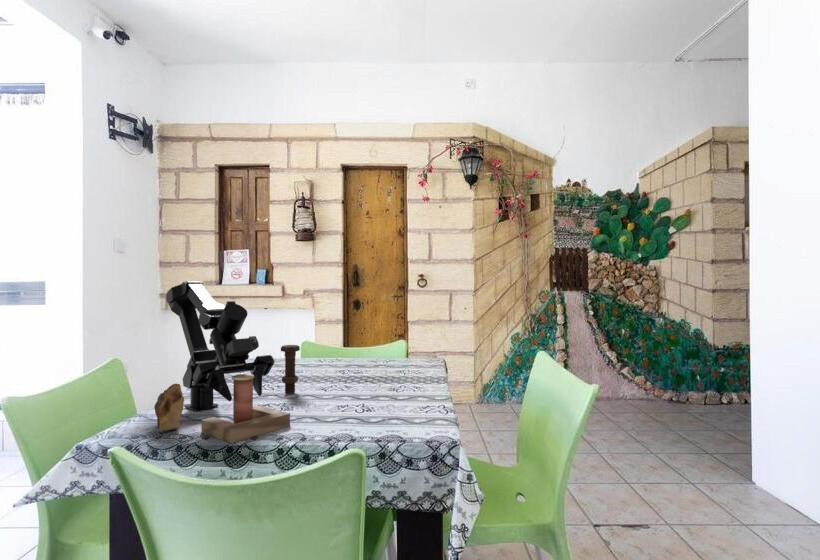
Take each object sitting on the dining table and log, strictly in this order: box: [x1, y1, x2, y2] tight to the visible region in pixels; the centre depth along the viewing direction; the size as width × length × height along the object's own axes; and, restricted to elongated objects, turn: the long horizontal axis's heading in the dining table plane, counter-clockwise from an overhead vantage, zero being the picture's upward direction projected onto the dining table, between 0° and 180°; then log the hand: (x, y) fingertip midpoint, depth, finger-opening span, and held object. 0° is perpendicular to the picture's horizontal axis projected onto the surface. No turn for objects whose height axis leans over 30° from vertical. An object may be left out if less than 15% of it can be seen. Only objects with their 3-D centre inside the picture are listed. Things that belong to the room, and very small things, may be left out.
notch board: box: [201, 405, 291, 444], centre depth 114 cm, size 12×16×3 cm
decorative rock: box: [153, 383, 185, 432], centre depth 114 cm, size 12×6×11 cm, turn 31°
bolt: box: [280, 344, 301, 395], centre depth 150 cm, size 6×5×15 cm
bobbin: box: [231, 373, 254, 424], centre depth 115 cm, size 6×6×12 cm
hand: (245, 397), depth 113 cm, fingers open, 7 cm apart
